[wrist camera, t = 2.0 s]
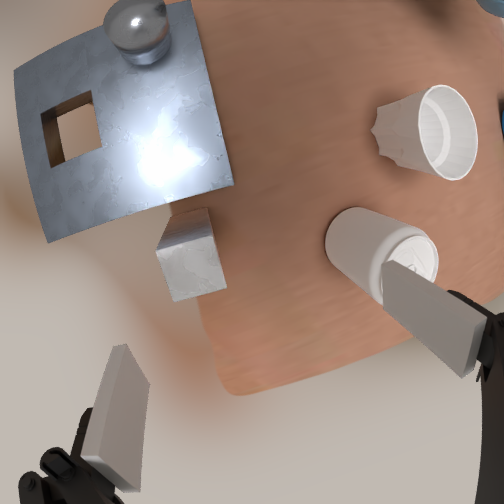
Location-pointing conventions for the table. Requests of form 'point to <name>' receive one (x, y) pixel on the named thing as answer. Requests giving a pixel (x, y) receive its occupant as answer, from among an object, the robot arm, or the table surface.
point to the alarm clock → (503, 121)
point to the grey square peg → (190, 256)
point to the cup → (429, 132)
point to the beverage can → (377, 248)
